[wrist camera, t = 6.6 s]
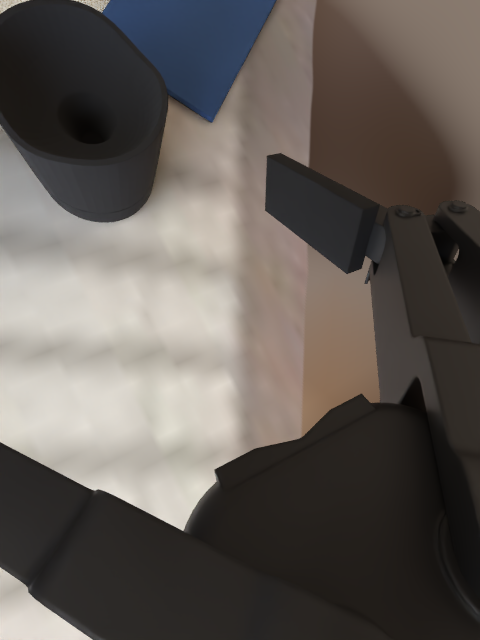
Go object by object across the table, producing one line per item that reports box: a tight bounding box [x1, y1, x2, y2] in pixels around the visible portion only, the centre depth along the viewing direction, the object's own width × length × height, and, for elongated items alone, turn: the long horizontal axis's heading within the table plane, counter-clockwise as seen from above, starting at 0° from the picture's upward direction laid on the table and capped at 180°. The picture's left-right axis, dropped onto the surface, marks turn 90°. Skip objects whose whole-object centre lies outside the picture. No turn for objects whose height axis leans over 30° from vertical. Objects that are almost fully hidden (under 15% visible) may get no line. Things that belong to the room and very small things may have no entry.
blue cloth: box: [102, 0, 276, 123], centre depth 31 cm, size 12×20×1 cm, turn 156°
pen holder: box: [0, 0, 168, 222], centre depth 22 cm, size 9×9×10 cm
